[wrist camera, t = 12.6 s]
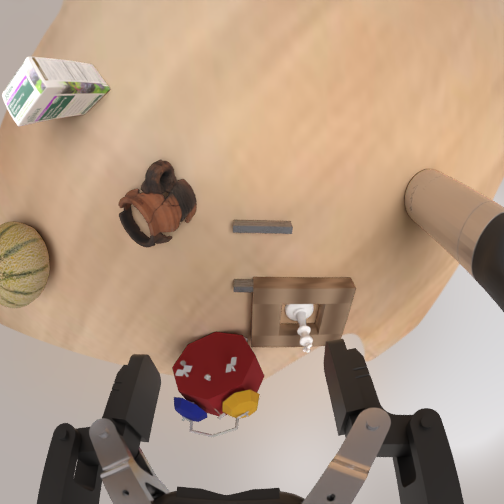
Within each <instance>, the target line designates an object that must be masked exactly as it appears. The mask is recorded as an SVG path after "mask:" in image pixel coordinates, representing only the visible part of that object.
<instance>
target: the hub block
mask: <svg viewBox="0 0 504 504" xmlns="http://www.w3.org/2000/svg"><path fill="white" fill-rule="evenodd" d="M355 290H356V287H355V285H354V283H353V281H352V279H351V278H299V277H253V301H252V329H251V347H305V346H302V345H301V344H300V338H301V336H300V335H299V334H298V333H297V330H298V328H299V327H300V326H299V324H280V319H281V310H282V304H319V309H318V314H317V318H316V322H315V323H306V326H309V327H310V329H311V331H310V333H309V335H310V336H311V337H312V339H313V342H312V346H325V343H326V341H331V340H337V339H341V337H342V334H343V330H344V327H345V324H346V321H347V318H348V314H349V311H350V308H351V304H352V301H353V297H354V294H355Z"/></svg>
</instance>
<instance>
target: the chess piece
mask: <svg viewBox="0 0 504 504" xmlns="http://www.w3.org/2000/svg"><path fill="white" fill-rule="evenodd" d="M285 312H286V315H287V317H288V318H290V319H291V320H294V321H298V323H299V326H300V327H299V328H298V330H297V333H298V334H299V335H300V336H301V338H300V344H301V345H302V346H305V347H304V348H303V351H304V352H308V353H309V352H310V347H311V346H312V342H313V339H312V337H311V336H310V335H309V333H310V331H311V329H310V327H309V326H306V319H307V318H308V317H310V316H311V314H312V313H313V304H286V306H285Z"/></svg>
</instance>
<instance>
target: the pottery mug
mask: <svg viewBox="0 0 504 504" xmlns="http://www.w3.org/2000/svg"><path fill="white" fill-rule="evenodd" d="M141 190H142V191H143V193H139V189H134V190H131V191H129V192H128V193H127V194H126V195H125V197H123V198H122V199H121V200H120V202H119V206H120V208H123V207H124V211H123V212H121V213H120V214H119V217H120V220H121V223H122V225H123V227H124V229H125V230H126V232H127V233H128V234H129V236H130V237H131V238H132V239H133V240H134V241H135V242H136V243H138V244H139V245H141V246H143V247H151V246H154V245H155V243H156V244H160V243H164V242H169V241H170V240H171V239H172V236H168V237H167V236H165V235H163V234H162V233H161V232H173V231H175V230H176V229H177V228H178V227H179V224H180V222H182V221H183V220H184V219H185V217H186V220H185V222H186V223H188V222H189V221H190V220H191V219H192V217H193V216H194V214H195V212H196V198H195V194H194V192H193V190H192V188H191V186H190V185H189V184H188V183H187V182H186V181H185V180H184V179H181V180H178V181H176V177H175V175H174V169H173V167H172V166H171V164H170V163H169V162H167V161H162V160H159V161H157V162H155V163H153V164H152V165H151V166H150V167H149V168H148V170H147V173H146V176H145V181H144V182H143V184H142V185H141ZM164 192H169V195H168V196H167V198H166V199H165V197H164V195H163V194H162V193H164ZM131 204H133V205H134V206H135V207H136V208H137V209H138V210H139V211H140V212H141V214H142V215H143V216H144V218H145V220H146V222H147V223H148V226H149V229H150V234H151V236H150V238H149V237H147V236H146V235H145V234H144V233H143V232H141V231H140V228H139V227H138V225H137V224H136V223H135V221H134V219H133V216H132V211H131Z"/></svg>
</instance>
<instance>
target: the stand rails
mask: <svg viewBox="0 0 504 504" xmlns="http://www.w3.org/2000/svg"><path fill="white" fill-rule="evenodd" d="M292 228H293V227H292V224H291V221H262V220H234V223H233V232H238V233H283V234H292ZM234 292H253V280H249V279H234Z"/></svg>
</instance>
